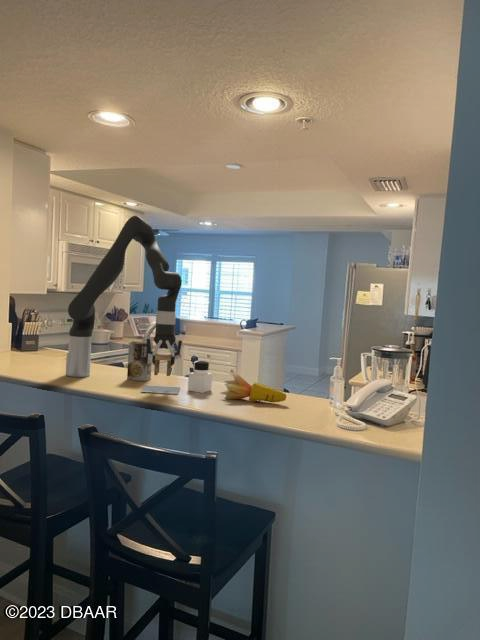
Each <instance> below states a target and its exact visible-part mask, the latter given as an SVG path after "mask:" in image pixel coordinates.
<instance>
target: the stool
mask: <svg viewBox="0 0 480 640" xmlns="http://www.w3.org/2000/svg"><path fill="white" fill-rule="evenodd" d="M171 356H172V355H171V353H168V352H157V353H156V354H155V365H154V367H153V369H154V372H153V376H158V374H159V373H160V361H167V362H166V363H167V365H166V377H170V376H171V374H172V366H171Z"/></svg>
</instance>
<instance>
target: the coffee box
mask: <svg viewBox="0 0 480 640" xmlns="http://www.w3.org/2000/svg"><path fill="white" fill-rule="evenodd" d="M153 343H154V342H153ZM153 343H152V344H151V349H152V350H153V346H154V345H153ZM152 364H153V363H152V354H149V353H148V349H147V341H130V342H128V354H127V376H126V380H129V379H132V380H131V381H142V382H143V381H144V382H145V381H146V382H147V381H150V380H151V379H152Z"/></svg>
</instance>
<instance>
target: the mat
mask: <svg viewBox="0 0 480 640" xmlns="http://www.w3.org/2000/svg"><path fill="white" fill-rule="evenodd" d="M180 390H181V386H168V385H153V384H151V385H149V384H145V386H144V387H143V388H142V390H141V391H140V393H142V394H143V393H144V394H157V395H158V394H159V395H172V396H173V395H175V396H176V395H177V396H178V395H179V392H180Z"/></svg>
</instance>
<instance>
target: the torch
mask: <svg viewBox="0 0 480 640" xmlns="http://www.w3.org/2000/svg"><path fill="white" fill-rule="evenodd" d="M229 374H230V375H231V376H232V377H233V379H226V380H225V379H224V380H223V382H225V383H224V386H226V390H225V391H222V392H219V394H221V395H224V399H227V400H228V399H229V400H238V399H245V398H248V401H249V403H254V402H261V401H262V402H268V403H281V402H284V401H286V399H287V393H285V392H283V391H281V390H278V389H274V388H272V387H270V386H267V385H264V384H261V383H258V382H256V381H255V382H253V384H252V385H251V384H249V382H247V381H246V380H245V379H244V378H243V377H242V376H240V374H237V373H234V372H233V373H232V372H229Z"/></svg>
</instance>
